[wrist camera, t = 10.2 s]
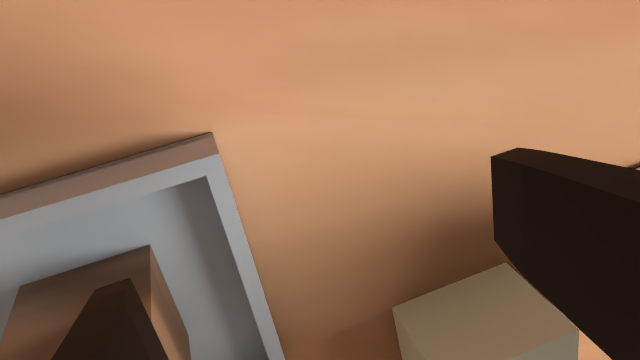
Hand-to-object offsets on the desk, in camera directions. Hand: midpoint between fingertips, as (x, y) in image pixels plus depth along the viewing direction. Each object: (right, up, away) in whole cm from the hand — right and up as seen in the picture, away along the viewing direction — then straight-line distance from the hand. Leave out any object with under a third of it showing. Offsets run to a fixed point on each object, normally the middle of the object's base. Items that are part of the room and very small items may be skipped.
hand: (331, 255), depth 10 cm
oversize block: (+6, -6, +16) cm, 18 cm away
